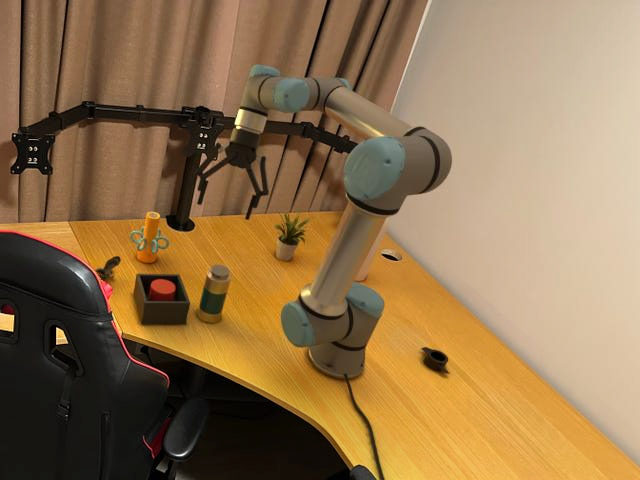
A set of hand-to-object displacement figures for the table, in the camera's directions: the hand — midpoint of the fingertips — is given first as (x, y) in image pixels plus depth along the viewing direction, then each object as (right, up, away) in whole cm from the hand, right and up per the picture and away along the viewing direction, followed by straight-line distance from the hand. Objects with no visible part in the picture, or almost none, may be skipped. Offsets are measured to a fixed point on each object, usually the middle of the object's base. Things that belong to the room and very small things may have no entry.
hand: (222, 212), depth 170 cm
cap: (-17, -25, +8) cm, 31 cm away
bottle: (+47, -12, +39) cm, 63 cm away
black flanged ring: (+60, -41, +9) cm, 74 cm away
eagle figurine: (-33, -16, +17) cm, 40 cm away
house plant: (+23, -5, +41) cm, 47 cm away
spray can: (-3, -27, +10) cm, 29 cm away
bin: (-17, -25, +9) cm, 32 cm away
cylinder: (-21, -8, +28) cm, 36 cm away
